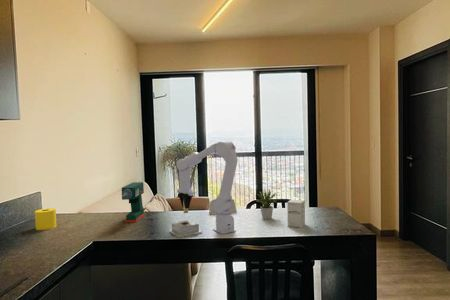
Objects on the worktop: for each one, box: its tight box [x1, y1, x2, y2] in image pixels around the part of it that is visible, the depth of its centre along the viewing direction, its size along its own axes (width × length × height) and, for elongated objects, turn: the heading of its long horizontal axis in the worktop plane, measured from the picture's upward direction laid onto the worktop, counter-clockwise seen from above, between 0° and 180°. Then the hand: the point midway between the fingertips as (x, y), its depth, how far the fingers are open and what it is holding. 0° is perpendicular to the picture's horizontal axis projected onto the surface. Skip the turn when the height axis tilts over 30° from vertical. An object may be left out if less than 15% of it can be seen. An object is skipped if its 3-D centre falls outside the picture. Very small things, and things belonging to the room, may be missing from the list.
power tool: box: [121, 181, 146, 223], centre depth 197 cm, size 32×7×20 cm, turn 179°
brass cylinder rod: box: [182, 200, 189, 214], centre depth 181 cm, size 2×2×8 cm
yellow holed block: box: [34, 207, 57, 231], centre depth 189 cm, size 10×10×9 cm
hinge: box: [208, 198, 238, 215], centre depth 212 cm, size 17×5×10 cm, turn 99°
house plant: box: [255, 188, 280, 220], centre depth 193 cm, size 14×14×16 cm
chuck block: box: [168, 219, 203, 238], centre depth 170 cm, size 12×12×4 cm
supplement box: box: [287, 199, 306, 228], centre depth 177 cm, size 7×7×13 cm
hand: (185, 207), depth 181 cm, fingers closed on brass cylinder rod, 2 cm apart
